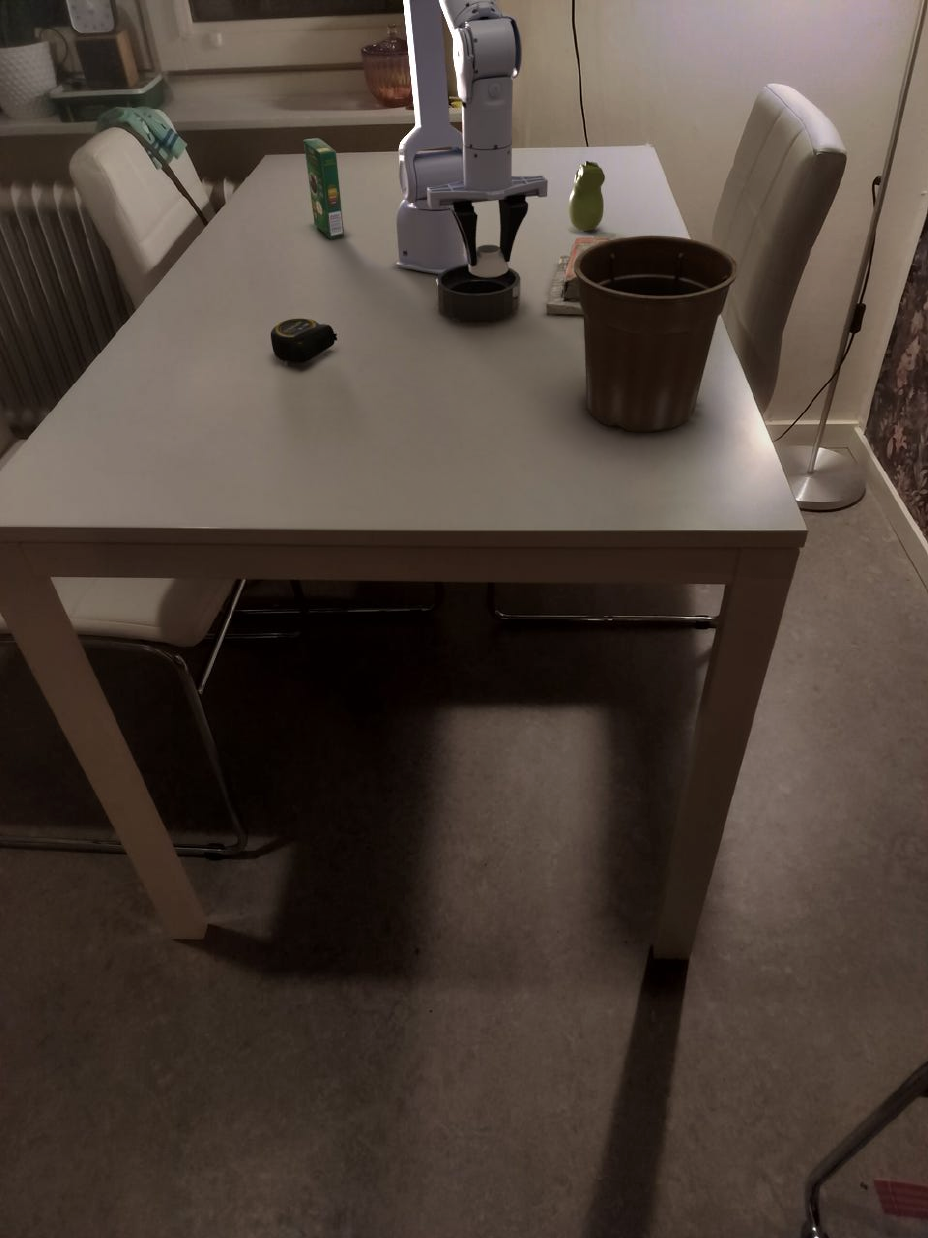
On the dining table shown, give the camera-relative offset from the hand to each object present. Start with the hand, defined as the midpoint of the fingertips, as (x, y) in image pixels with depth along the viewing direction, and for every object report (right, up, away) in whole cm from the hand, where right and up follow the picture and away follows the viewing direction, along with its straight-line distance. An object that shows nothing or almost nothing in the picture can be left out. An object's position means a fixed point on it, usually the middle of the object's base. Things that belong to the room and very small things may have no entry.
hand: (488, 261), depth 111 cm
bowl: (-1, -3, +9) cm, 10 cm away
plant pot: (+17, -21, -12) cm, 30 cm away
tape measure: (-23, -12, 0) cm, 26 cm away
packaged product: (+14, +1, +13) cm, 19 cm away
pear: (+17, +18, +31) cm, 40 cm away
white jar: (0, -1, +1) cm, 2 cm away
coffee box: (-25, +19, +34) cm, 46 cm away
